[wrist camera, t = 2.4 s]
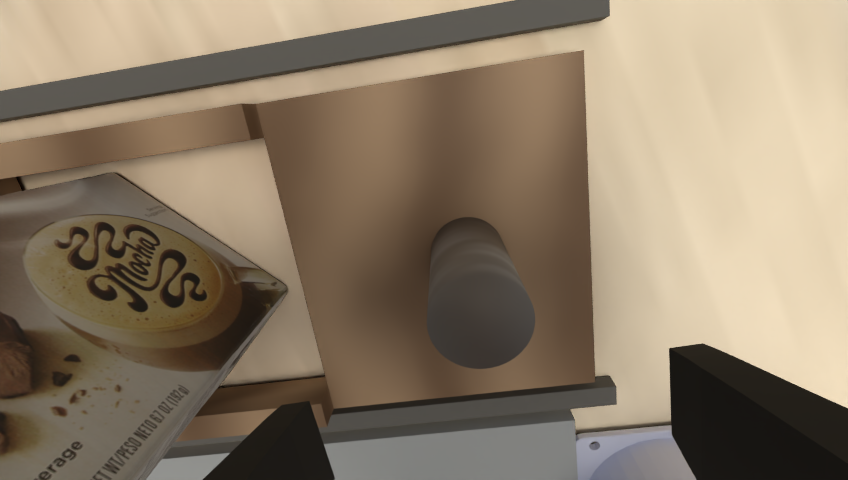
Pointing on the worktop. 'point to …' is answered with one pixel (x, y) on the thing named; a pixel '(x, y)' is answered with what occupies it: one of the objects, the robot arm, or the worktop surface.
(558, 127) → the walnut strip
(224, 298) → the coffee box
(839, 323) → the worktop surface
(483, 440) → the grey strip
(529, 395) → the lane rails
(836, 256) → the worktop surface
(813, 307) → the worktop surface
